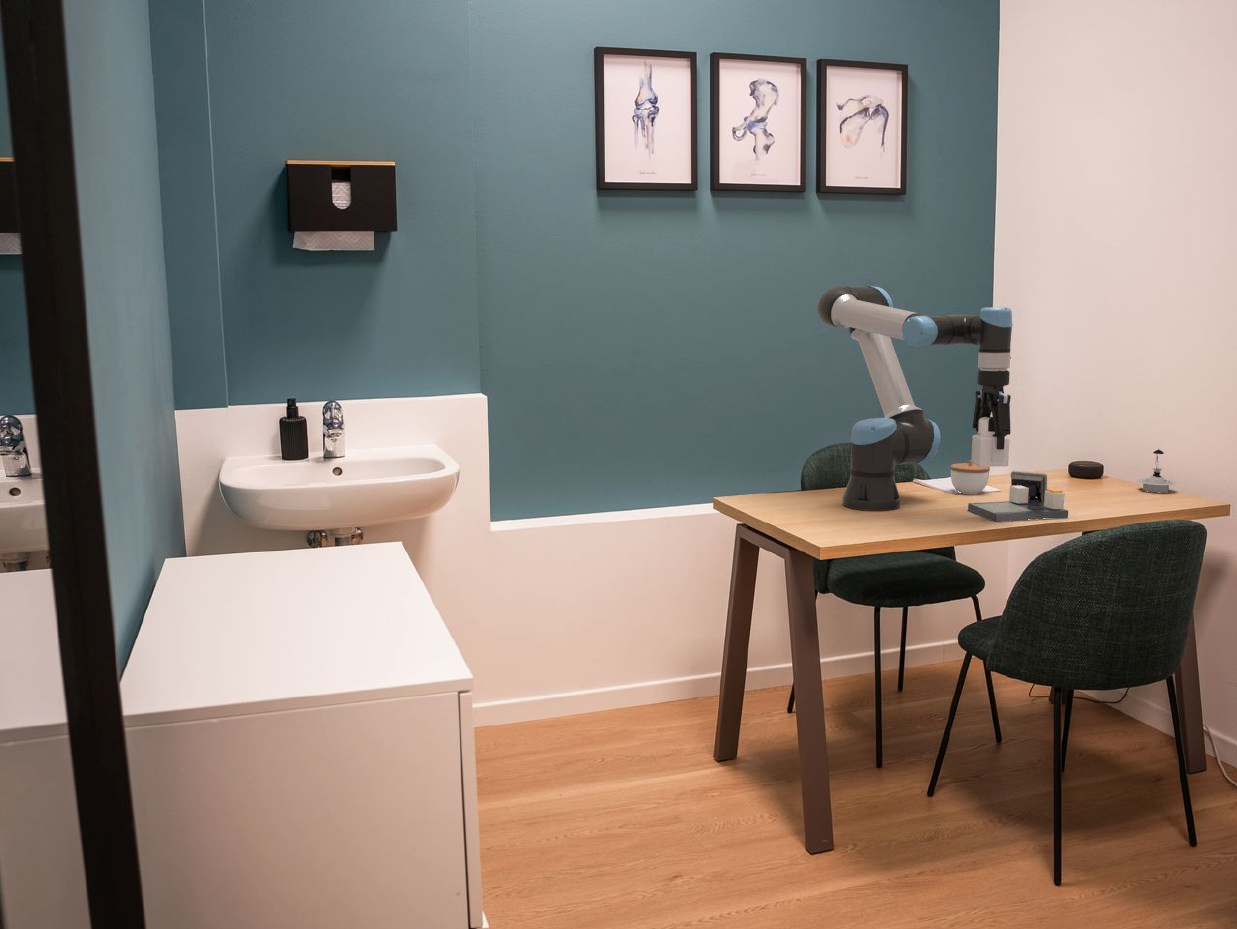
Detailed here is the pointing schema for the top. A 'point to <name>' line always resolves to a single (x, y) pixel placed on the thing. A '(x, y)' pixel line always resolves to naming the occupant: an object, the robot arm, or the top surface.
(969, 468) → the lidded jar
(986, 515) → the panel
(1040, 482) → the electrical switch
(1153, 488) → the grey stand with stem
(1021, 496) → the breaker
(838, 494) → the top surface
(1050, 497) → the block
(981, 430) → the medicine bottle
